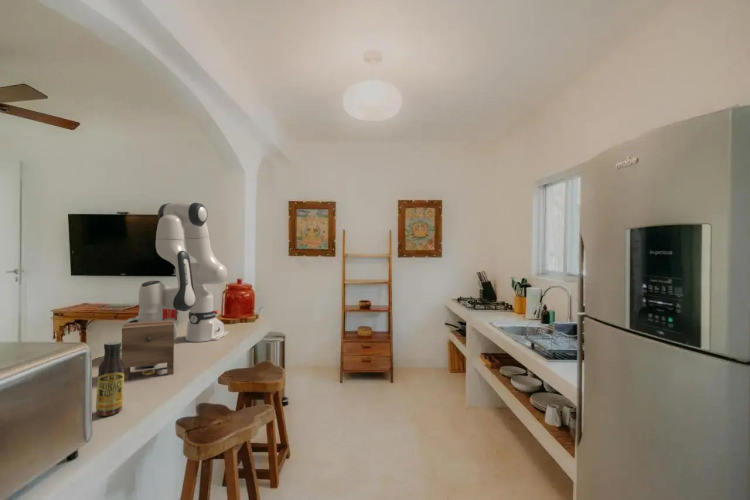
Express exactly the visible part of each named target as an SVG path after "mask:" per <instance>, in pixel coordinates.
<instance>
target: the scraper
mask: <svg viewBox="0 0 750 500" xmlns="http://www.w3.org/2000/svg"><path fill="white" fill-rule="evenodd" d="M157 365H158V364H153V365H145V366H141V367H142V368H146V367H154V366H157Z"/></svg>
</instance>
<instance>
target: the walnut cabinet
mask: <svg viewBox="0 0 750 500" xmlns="http://www.w3.org/2000/svg"><path fill="white" fill-rule="evenodd" d="M174 341H175V339H174V322H173V320H161V321H148V322H135V323H126V322H125V323H124V324H123V325H122V328H121V360H122V361H123V363H124V382H126V381H129V380H130V374H131V368H137V367H142V366H145V365H153V364H157V365H159V364H166V369H167V370H166V371H167V372H166V374H167V375H169V376H170V375H174V367H175V366H174V365H175V364H174V363H175V361H174V359H175V358H174V357H175V356H174V355H175V351H174V350H175V348H174V346H175V345H174V344H175V343H174Z"/></svg>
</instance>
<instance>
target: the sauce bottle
mask: <svg viewBox="0 0 750 500" xmlns="http://www.w3.org/2000/svg"><path fill="white" fill-rule="evenodd" d="M103 349H104V356H103V360H102V361H101V363H100V364H99V366H98V375H97V383H96V384H97V385H96V402H95V403H96V404H95V409H96V410H95V411H96V412H95V414H96V416H98V417H108V416H110V417H111V416H113V415H116V414H119V413H120V412H121V411H122V410H123V405H124V389H125V386H124V385H125V381H124V363H123V361H122V357H121V349H122V341H118V340H117V341H116V340H115V341H107V342H105V343H104V344H103Z"/></svg>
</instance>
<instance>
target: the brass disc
mask: <svg viewBox="0 0 750 500" xmlns="http://www.w3.org/2000/svg"><path fill="white" fill-rule="evenodd" d="M154 374H156V369H154V368H153V369H152V368H151V369H144V370H142V376H151V375H154Z"/></svg>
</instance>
